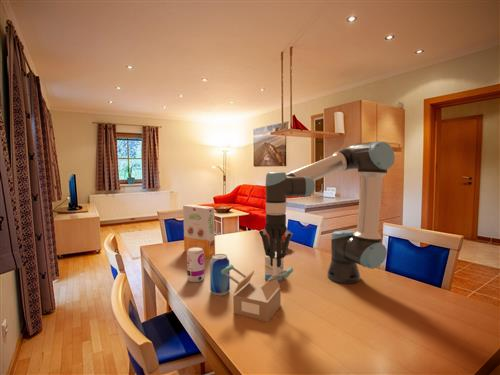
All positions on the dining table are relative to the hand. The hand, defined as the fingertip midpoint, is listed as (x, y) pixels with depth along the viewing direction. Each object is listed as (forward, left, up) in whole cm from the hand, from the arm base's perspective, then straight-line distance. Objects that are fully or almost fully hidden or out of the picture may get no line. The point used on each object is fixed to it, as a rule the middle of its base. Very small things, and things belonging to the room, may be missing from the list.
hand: (275, 274), depth 107 cm
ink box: (+11, -29, -14) cm, 34 cm away
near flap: (+1, +3, -3) cm, 5 cm away
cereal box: (+68, -46, -14) cm, 83 cm away
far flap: (+11, +4, -3) cm, 12 cm away
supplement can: (+45, -11, -14) cm, 49 cm away
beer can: (+27, -4, -14) cm, 31 cm away
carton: (+6, +3, -14) cm, 15 cm away
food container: (+27, -77, -14) cm, 83 cm away
